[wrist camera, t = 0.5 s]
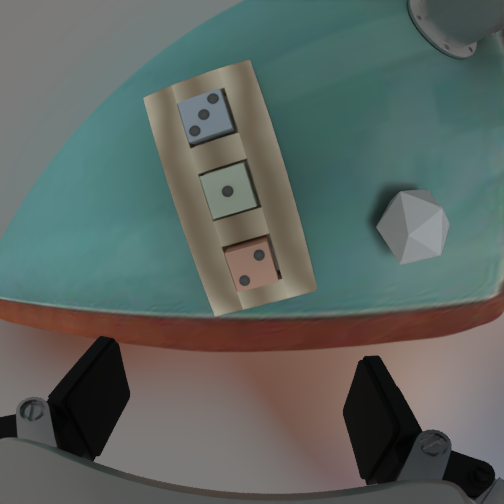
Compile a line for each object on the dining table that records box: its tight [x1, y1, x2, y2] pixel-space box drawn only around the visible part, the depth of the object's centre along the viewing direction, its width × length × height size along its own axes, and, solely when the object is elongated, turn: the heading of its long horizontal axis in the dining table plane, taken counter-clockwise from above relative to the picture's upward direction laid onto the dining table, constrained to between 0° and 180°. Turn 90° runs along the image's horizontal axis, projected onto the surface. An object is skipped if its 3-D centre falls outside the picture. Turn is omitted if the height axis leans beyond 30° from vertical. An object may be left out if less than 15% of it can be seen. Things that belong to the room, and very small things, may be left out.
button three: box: [177, 88, 235, 145], centre depth 26 cm, size 4×4×3 cm
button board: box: [144, 60, 317, 316], centre depth 30 cm, size 12×26×4 cm, turn 17°
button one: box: [200, 163, 257, 219], centre depth 28 cm, size 4×4×3 cm
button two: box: [224, 235, 279, 292], centre depth 30 cm, size 4×4×3 cm
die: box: [376, 189, 450, 265], centre depth 29 cm, size 8×9×10 cm
